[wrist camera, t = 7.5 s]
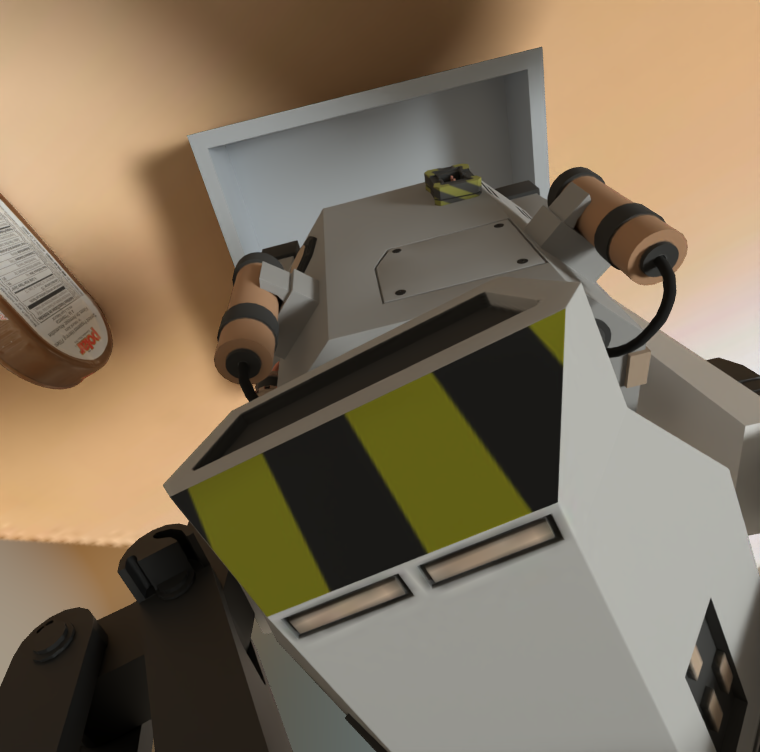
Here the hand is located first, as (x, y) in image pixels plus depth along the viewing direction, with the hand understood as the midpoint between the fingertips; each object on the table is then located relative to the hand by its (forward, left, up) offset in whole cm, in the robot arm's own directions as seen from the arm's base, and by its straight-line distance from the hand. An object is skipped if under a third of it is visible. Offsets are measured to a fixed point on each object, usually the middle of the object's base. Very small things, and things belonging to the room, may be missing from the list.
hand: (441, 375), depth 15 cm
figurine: (0, 0, -4) cm, 4 cm away
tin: (-4, -23, -21) cm, 31 cm away
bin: (0, 0, -21) cm, 21 cm away
